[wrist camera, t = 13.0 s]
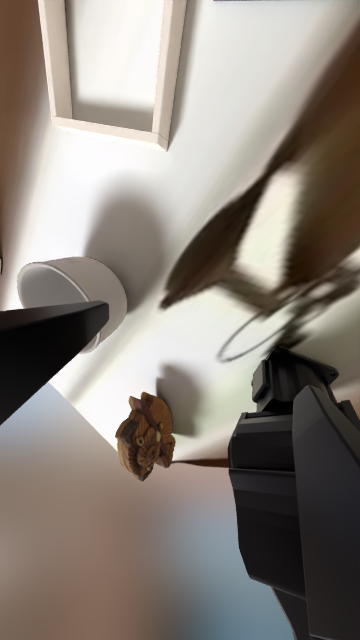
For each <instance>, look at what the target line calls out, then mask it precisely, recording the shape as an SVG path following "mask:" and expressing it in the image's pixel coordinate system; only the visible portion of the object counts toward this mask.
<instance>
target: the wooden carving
mask: <svg viewBox="0 0 360 640" xmlns="http://www.w3.org/2000/svg"><path fill="white" fill-rule="evenodd" d="M129 404H130V406H131V408H132V411H131V413H130V415H129V417H128V418H127V419H126V420H125V421H123V422H122V423H121V425H120V426H119V428H118V430H117V432H116V435H115V437H116V438H117V439H118V444H117V445H118V454H119V459H120V463H121V464H122V466H123V467H124V468H125V469H126V470H127V471H129V472H131V473H133V475H134V477H135V478H136V479H139V480H140V481H144V480H145V479H146V478H147V477H148V475H149V474H150V473H151V471H152V469H153V465H154V463H155V464H160V465H161V466H163V467H164V468H167V467H169V466H170V464H171V461H172V457H173V451H174V446H175V443H176V442H175V438H174V437H173V436H172V435H171V433H172V428H173V425H172V424H173V423H172V416H171V413H170V410H169V408H168V407H167V405H166V403H165V402H164V401H163V400H161V399H160V398H158V397H156V396H153V395H150V394H148V393H146V392H142V394H141V400H140V399H137V398H135V397H132V396H130V398H129Z"/></svg>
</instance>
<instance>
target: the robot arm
mask: <svg viewBox="0 0 360 640" xmlns="http://www.w3.org/2000/svg"><path fill="white" fill-rule="evenodd" d="M108 321H109V304H108V303H106V302H104V301H101V300H97V301H88V302H79V303H70V304H61V305H52V306H43V307H34V308H25V309H16V310H7V311H0V425H1V424H2V423H3V422H4V421H6V420H7V419H8V418H9V417H10V416H11V415H12V414H13V413H14V412H15V411H16V410H18V409H19V408H20V407H21V406H22V405H23V404H24V403H25V402H26V401H27V400H28V399H30V398H31V397H32V396H33V395H34V394H35V393H36V392H37V391H38V390H39V389H40V388H41V387H42V386H44V385H45V384H46V383H47V382H48V381H49V380H50V379H51V378H52V377H53V376H54V375H56V374H57V373H58V372H59V371H60V370H61V369H62V368H63V367H64V366H65V365H66V364H67V363H69V362H70V361H71V360H72V359H73V358H74V357H75V356H76V355H77V354H78V353H79V352H80V351H82V350H83V349H84V348H85V347H86V346H87V345H88V344H89V343H90V342H91V341H92V339H93V338H94V337H95V336H96V335H97V334H98V333H99V331H100V330H101V329H102V328H103V327H104V326H105V325H106V324H107V322H108ZM275 351H280V352H275ZM332 372H333V374H330V373H332ZM338 376H339V373H338V371H337V370H336V369H335V368H332V367H329V366H327V365H324V364H322V363H319V362H317V361H314V360H311V359H309V358H306V357H304V356H301V355H299V354H296V353H293V352H291V351H288V350H286V349H283V348H281V347H274V348H273V349H272V350H271V352H270V354H269V355H268V357H267V358H266V360H262V361H261V363H260V364H259V366H258V368H257V369H256V371H255V372H254V374H253V380H252V382H251V385H252V386H253V390H252V400H253V402H255V403H257V412H254V413H248V412H244V413H242V414H241V416H240V419H239V421H238V423H237V425H236V428H235V430H234V432H233V434H232V437H231V439H230V442H229V446H228V462H229V476H230V480H231V483H232V487H233V491H234V497H235V504H236V512H237V526H238V541H239V549H240V553H241V555H242V558H243V561H244V564H245V567H246V570H247V573H248V575H249V577H250V578H251V579H253V580H256V581H258V582H261V583H263V584H266V585H268V586H270V587H271V588H272V590H273V592H274V594H275V596H276V598H277V600H278V602H279V604H280V606H281V608H282V610H283V612H284V614H285V616H286V618H287V620H288V622H289V624H290V626H291V628H292V631H293V635H294V639H295V640H360V420H359V418H358V416H357V414H356V412H355V410H354V408H353V406H352V404H351V402H350V400H345V401H341V402H340V403H337V401H336V399H335V397H334V394H333V392H332V390H331V388H330V384H331V383H332V382H333V381H334V380H335V379H336V378H337V377H338Z"/></svg>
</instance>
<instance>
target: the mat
mask: <svg viewBox="0 0 360 640" xmlns="http://www.w3.org/2000/svg"><path fill="white" fill-rule="evenodd" d="M214 1H249V0H214Z"/></svg>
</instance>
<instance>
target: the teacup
mask: <svg viewBox="0 0 360 640" xmlns="http://www.w3.org/2000/svg"><path fill="white" fill-rule="evenodd" d="M17 290H18V295H19V299H20V301H21V304H22V306H23V308H24V309H25V308H34V307H43V306H52V305H61V304H70V303H79V302H88V301H97V300H101V301H104V302H106V303H108V304H109V321H108V322H107V324H106V325H105V326H104V327H103V328H102V329H101V330H100V331H99V333H98V334H97V335H96V336H95V337H94V338H93V339H92V341H91V342H90V343H89V344H88V345H87V346H86V347H85V348H84V349H83V350H82V351H80V352H79V353H78V354H85V353H89V352H91V351H93V350H94V349H95V348H96V347H97V346H98V345H99V344H100V343H101V342H102V341H103V340H105V339H106V338H107V337H108V336H109V335H110V334H111V333H113V332H114V331H115V330H116V329H117V328H118V327H119V325H120V324H121V323H122V321H123V320H124V318H125V315H126V311H127V298H126V294H125V291H124V288H123V286H122V284H121V282H120V281H119V279H118V278H117V276H116V275H115V274H114V273H113V272H112V271H111V270H110V269H109V268H108V267H107V266H105V265H104V264H102V263H101V262H99V261H97V260H94V259H91V258H86V257H69V258H62V259H56V260H51V261H46V262H33V263H29V264H27V265H25V266H24V267H23V268H22V269H21V270H20V272H19V274H18V279H17Z"/></svg>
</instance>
